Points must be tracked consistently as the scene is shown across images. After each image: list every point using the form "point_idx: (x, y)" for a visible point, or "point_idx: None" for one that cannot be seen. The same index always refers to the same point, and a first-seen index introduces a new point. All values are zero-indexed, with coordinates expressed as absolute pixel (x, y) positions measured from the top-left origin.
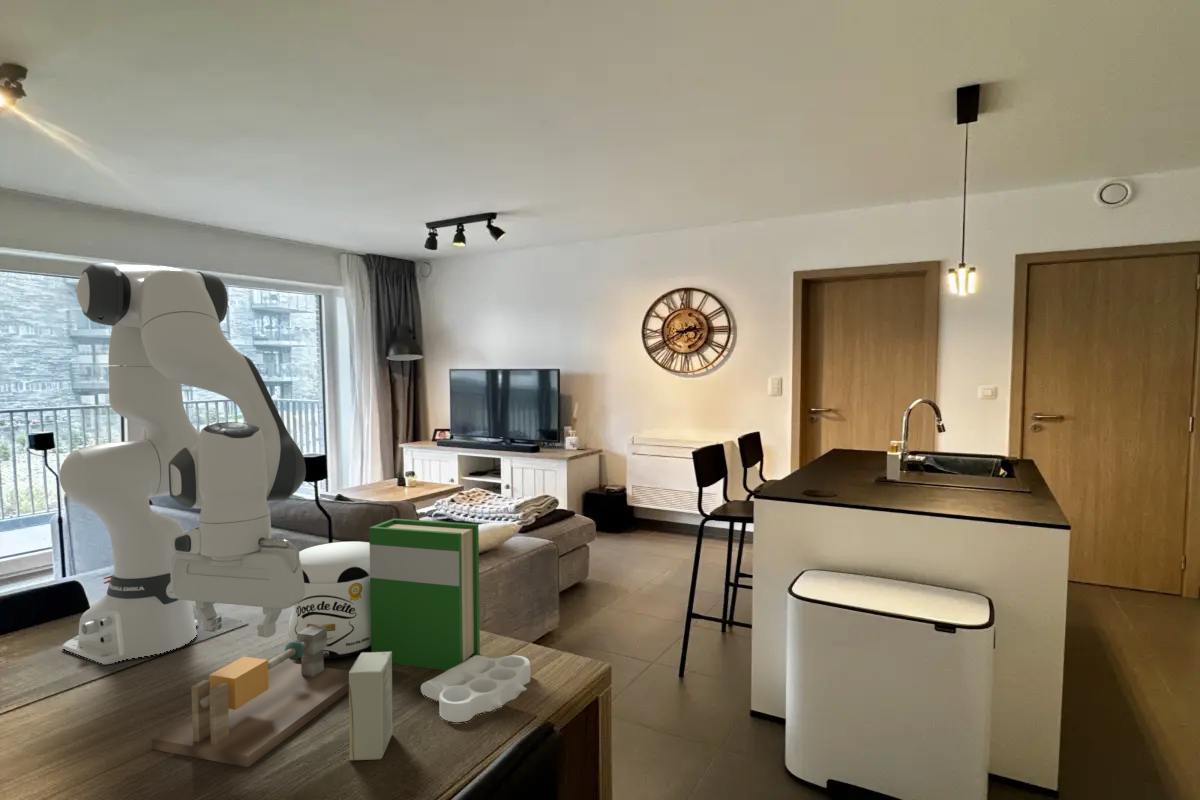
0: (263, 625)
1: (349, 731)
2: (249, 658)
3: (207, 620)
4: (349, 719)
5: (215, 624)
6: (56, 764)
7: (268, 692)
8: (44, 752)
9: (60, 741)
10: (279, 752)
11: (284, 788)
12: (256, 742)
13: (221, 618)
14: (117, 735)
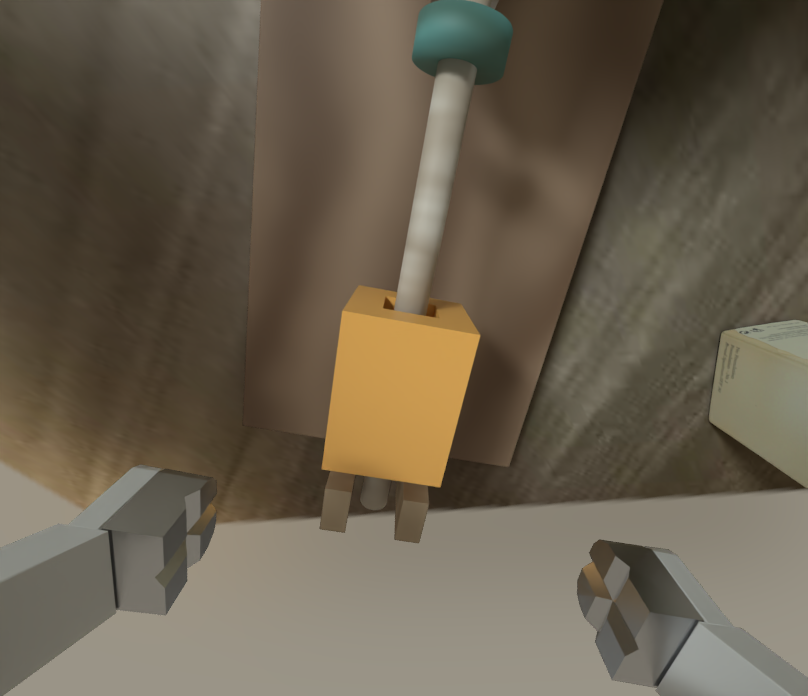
0: (668, 693)
1: (767, 460)
2: (384, 326)
3: (128, 610)
4: (798, 482)
5: (185, 538)
6: (110, 466)
7: (383, 176)
8: (36, 436)
9: (18, 399)
10: (542, 403)
11: (602, 497)
12: (499, 422)
13: (172, 519)
14: (119, 370)
